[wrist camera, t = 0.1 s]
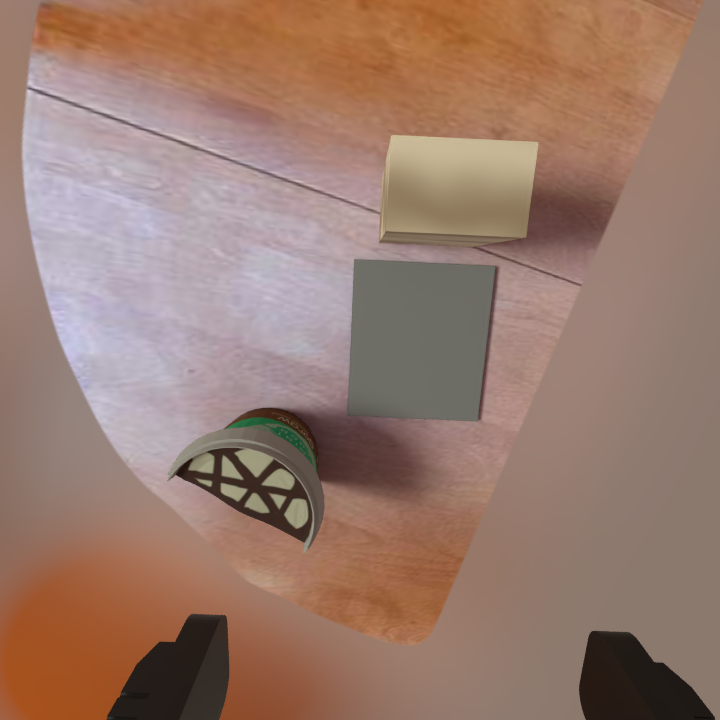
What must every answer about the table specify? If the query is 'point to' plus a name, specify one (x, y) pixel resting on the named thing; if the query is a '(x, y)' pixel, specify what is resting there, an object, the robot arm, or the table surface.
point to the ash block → (456, 191)
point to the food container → (261, 470)
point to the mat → (418, 339)
